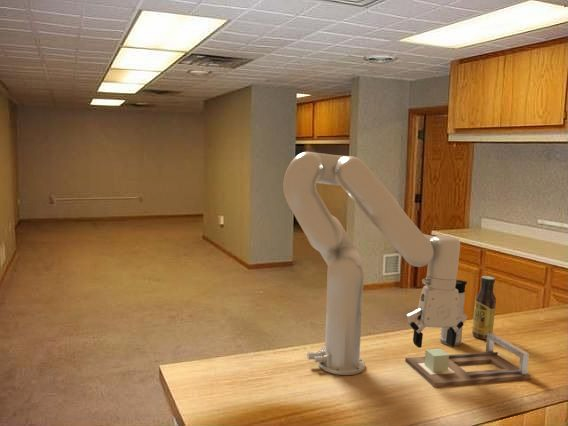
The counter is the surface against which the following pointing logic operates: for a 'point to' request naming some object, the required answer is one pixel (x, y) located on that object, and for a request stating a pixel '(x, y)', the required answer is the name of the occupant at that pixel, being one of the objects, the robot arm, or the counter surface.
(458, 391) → the counter surface
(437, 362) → the block
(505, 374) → the board
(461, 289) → the travel mug
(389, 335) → the counter surface
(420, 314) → the robot arm
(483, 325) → the sauce bottle
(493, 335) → the gate
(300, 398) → the counter surface
